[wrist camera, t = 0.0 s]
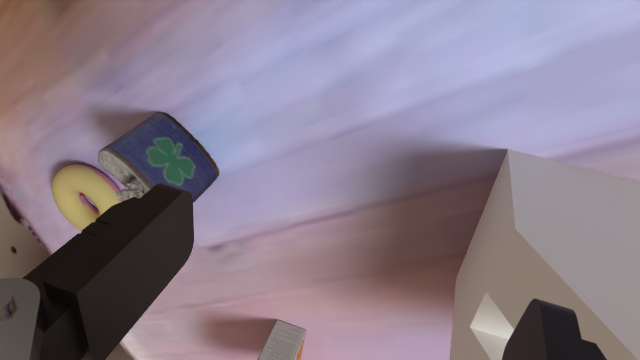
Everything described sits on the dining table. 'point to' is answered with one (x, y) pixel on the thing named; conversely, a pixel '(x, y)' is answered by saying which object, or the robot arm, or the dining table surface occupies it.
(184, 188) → the flask
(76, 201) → the donut
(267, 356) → the skincare box
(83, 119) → the dining table surface
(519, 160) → the white slotted block
